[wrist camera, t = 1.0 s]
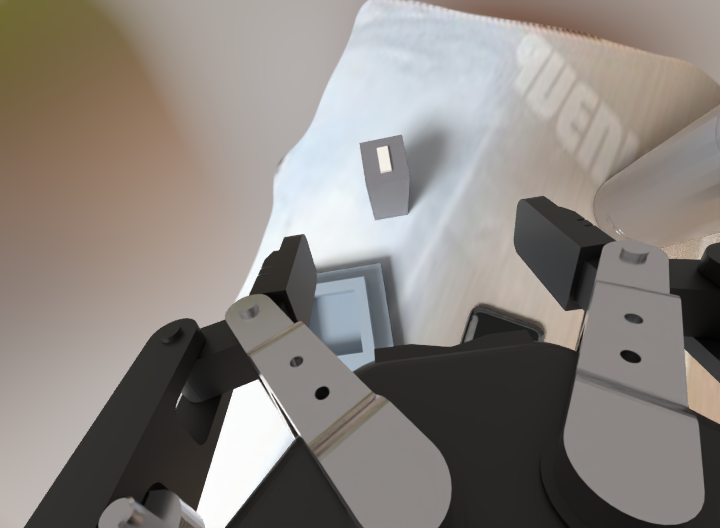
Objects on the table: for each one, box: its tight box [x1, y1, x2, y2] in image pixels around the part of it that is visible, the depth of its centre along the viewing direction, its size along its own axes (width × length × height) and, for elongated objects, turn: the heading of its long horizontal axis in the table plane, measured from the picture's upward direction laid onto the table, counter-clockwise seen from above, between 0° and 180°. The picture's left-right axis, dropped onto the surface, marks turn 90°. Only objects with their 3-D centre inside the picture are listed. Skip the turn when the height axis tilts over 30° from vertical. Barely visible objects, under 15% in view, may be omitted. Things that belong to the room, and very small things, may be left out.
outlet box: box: [309, 263, 394, 372], centre depth 35 cm, size 12×12×4 cm
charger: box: [360, 135, 410, 220], centre depth 34 cm, size 4×4×10 cm
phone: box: [460, 307, 544, 344], centre depth 34 cm, size 8×1×15 cm
